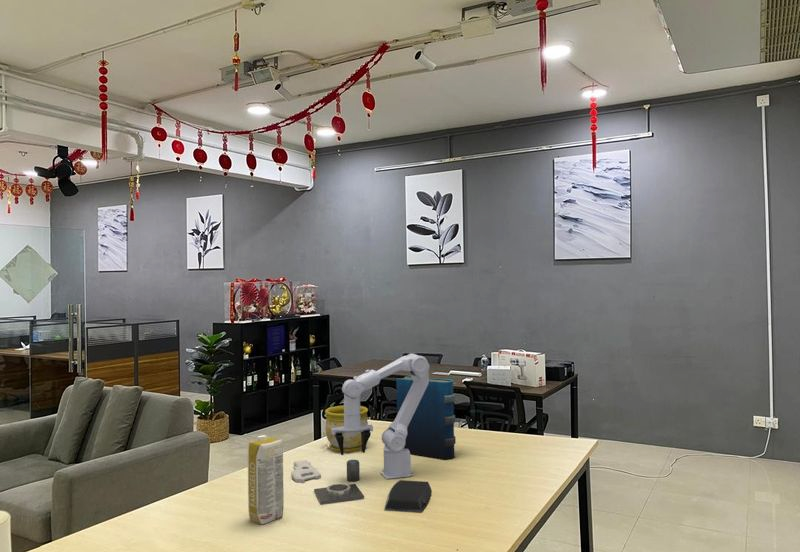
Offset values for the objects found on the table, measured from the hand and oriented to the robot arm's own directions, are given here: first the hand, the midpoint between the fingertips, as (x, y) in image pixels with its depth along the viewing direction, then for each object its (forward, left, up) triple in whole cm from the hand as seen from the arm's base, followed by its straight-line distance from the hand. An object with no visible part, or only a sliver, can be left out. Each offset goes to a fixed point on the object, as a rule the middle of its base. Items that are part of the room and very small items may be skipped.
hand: (352, 453), depth 202 cm
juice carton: (+32, +24, -10) cm, 41 cm away
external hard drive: (-12, +25, -10) cm, 30 cm away
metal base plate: (+8, +13, -9) cm, 18 cm away
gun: (+15, -13, -10) cm, 22 cm away
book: (-36, -20, -10) cm, 42 cm away
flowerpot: (-7, -40, -10) cm, 42 cm away
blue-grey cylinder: (0, 0, -9) cm, 9 cm away
